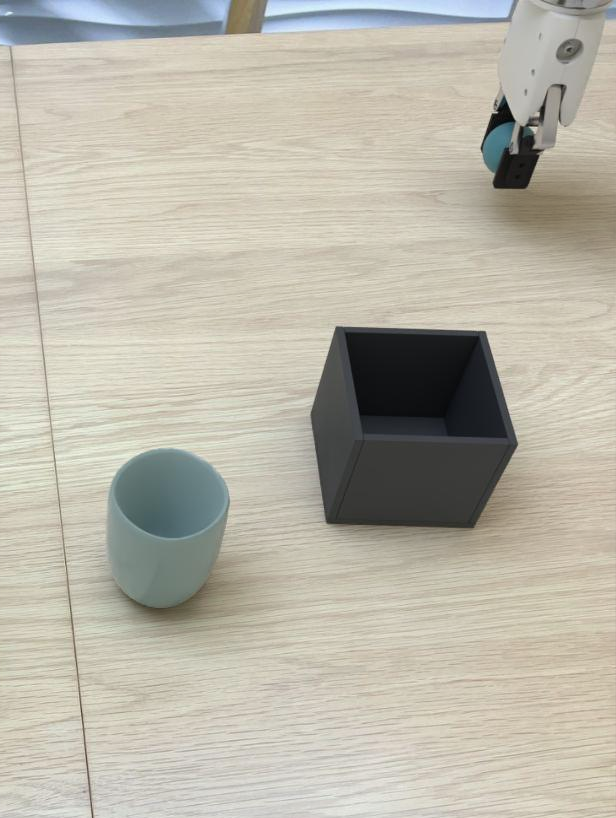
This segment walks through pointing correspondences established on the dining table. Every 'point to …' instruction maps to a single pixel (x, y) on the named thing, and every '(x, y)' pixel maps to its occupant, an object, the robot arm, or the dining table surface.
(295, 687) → the dining table surface
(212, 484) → the cup
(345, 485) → the bin
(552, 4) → the robot arm
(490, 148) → the teal ball
